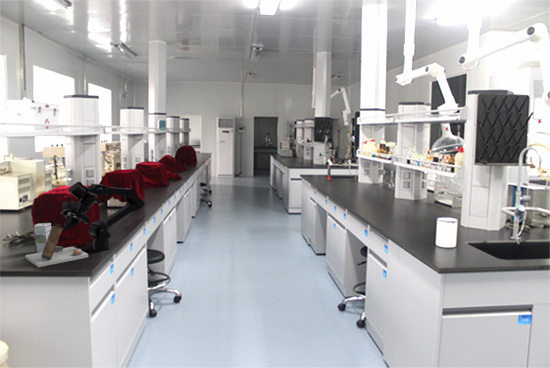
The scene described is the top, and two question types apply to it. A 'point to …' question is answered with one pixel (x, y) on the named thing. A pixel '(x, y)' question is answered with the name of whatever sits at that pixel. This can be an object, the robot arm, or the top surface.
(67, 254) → the control panel
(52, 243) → the walnut lever
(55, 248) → the grey rectangular block
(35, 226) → the syrup box
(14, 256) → the top surface
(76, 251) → the terracotta button
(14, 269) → the top surface
